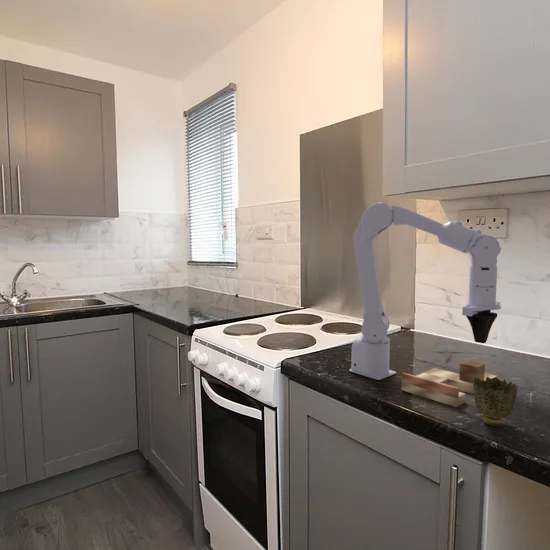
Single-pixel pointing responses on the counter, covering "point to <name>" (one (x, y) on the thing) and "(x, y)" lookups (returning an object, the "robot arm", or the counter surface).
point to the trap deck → (439, 386)
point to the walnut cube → (471, 371)
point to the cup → (494, 399)
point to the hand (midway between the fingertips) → (480, 342)
